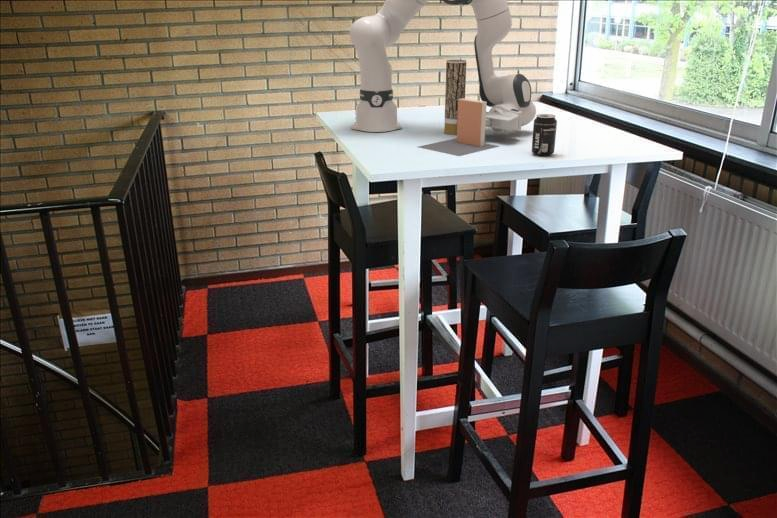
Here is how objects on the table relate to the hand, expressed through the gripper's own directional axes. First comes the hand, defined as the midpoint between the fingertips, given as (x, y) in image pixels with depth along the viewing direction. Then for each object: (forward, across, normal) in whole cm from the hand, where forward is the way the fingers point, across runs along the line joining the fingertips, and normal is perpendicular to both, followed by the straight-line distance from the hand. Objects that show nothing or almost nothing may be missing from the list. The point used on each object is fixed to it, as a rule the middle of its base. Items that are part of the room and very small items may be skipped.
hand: (474, 123), depth 215 cm
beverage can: (-3, +25, +7) cm, 26 cm away
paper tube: (-8, -15, +7) cm, 19 cm away
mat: (+8, 0, +7) cm, 10 cm away
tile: (+2, 0, +6) cm, 7 cm away
